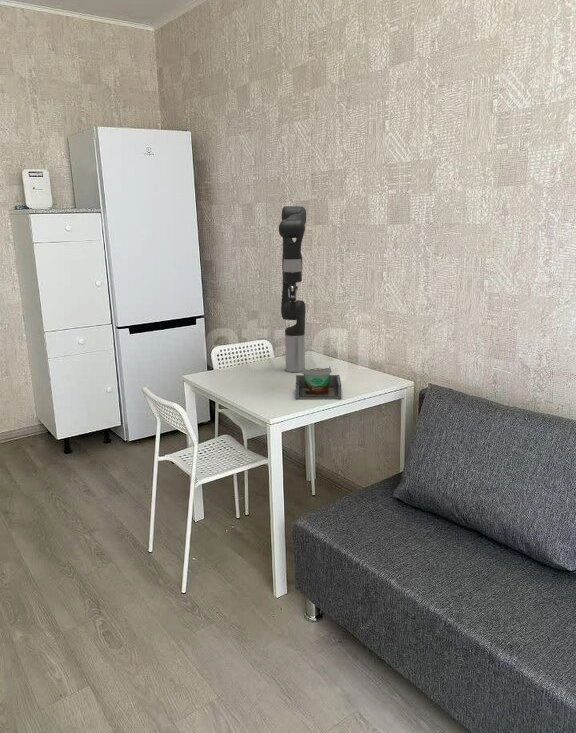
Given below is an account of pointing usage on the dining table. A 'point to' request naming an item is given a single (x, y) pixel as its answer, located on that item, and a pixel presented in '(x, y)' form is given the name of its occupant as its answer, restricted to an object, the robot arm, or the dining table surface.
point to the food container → (316, 380)
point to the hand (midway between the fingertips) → (293, 309)
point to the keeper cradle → (332, 393)
